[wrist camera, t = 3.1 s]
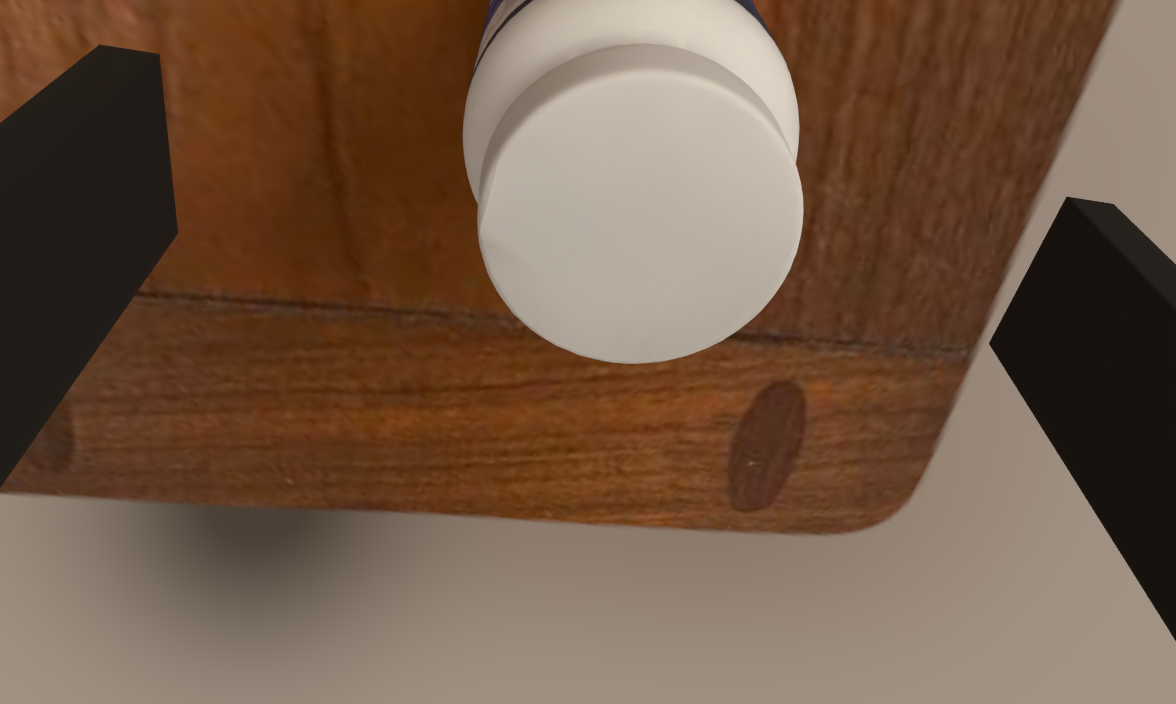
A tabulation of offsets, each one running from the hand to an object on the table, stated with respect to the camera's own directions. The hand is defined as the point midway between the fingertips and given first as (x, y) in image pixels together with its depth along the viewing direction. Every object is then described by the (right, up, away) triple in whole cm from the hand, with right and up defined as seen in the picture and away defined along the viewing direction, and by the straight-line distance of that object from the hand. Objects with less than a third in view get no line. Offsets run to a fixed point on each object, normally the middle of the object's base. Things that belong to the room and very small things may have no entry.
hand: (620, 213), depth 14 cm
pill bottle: (0, +6, +8) cm, 9 cm away
